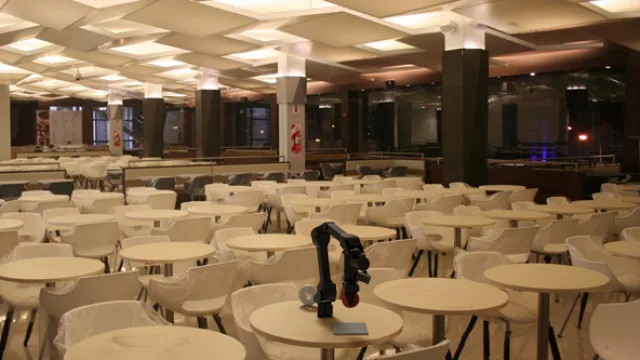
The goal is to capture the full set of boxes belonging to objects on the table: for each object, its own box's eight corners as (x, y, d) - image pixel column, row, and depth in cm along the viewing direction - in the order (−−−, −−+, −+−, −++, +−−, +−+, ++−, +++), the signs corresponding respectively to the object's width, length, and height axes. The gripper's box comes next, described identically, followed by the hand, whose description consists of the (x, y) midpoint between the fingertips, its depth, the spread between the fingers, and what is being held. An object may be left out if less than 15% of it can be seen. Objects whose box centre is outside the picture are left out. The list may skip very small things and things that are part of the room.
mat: (334, 334, 278) (334, 333, 278) (332, 324, 292) (332, 322, 292) (368, 334, 278) (368, 333, 278) (365, 323, 292) (365, 322, 292)
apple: (338, 306, 286) (338, 287, 285) (354, 304, 289) (354, 285, 289) (345, 311, 280) (345, 292, 279) (362, 308, 283) (362, 290, 282)
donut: (297, 305, 320) (297, 284, 319) (299, 303, 323) (299, 282, 322) (317, 307, 316) (317, 286, 315) (319, 305, 320) (319, 284, 318)
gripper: (372, 271, 273) (371, 309, 275) (367, 261, 292) (367, 296, 294) (344, 271, 273) (344, 309, 275) (341, 261, 292) (341, 296, 293)
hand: (350, 302), depth 284 cm, fingers closed on apple, 7 cm apart
